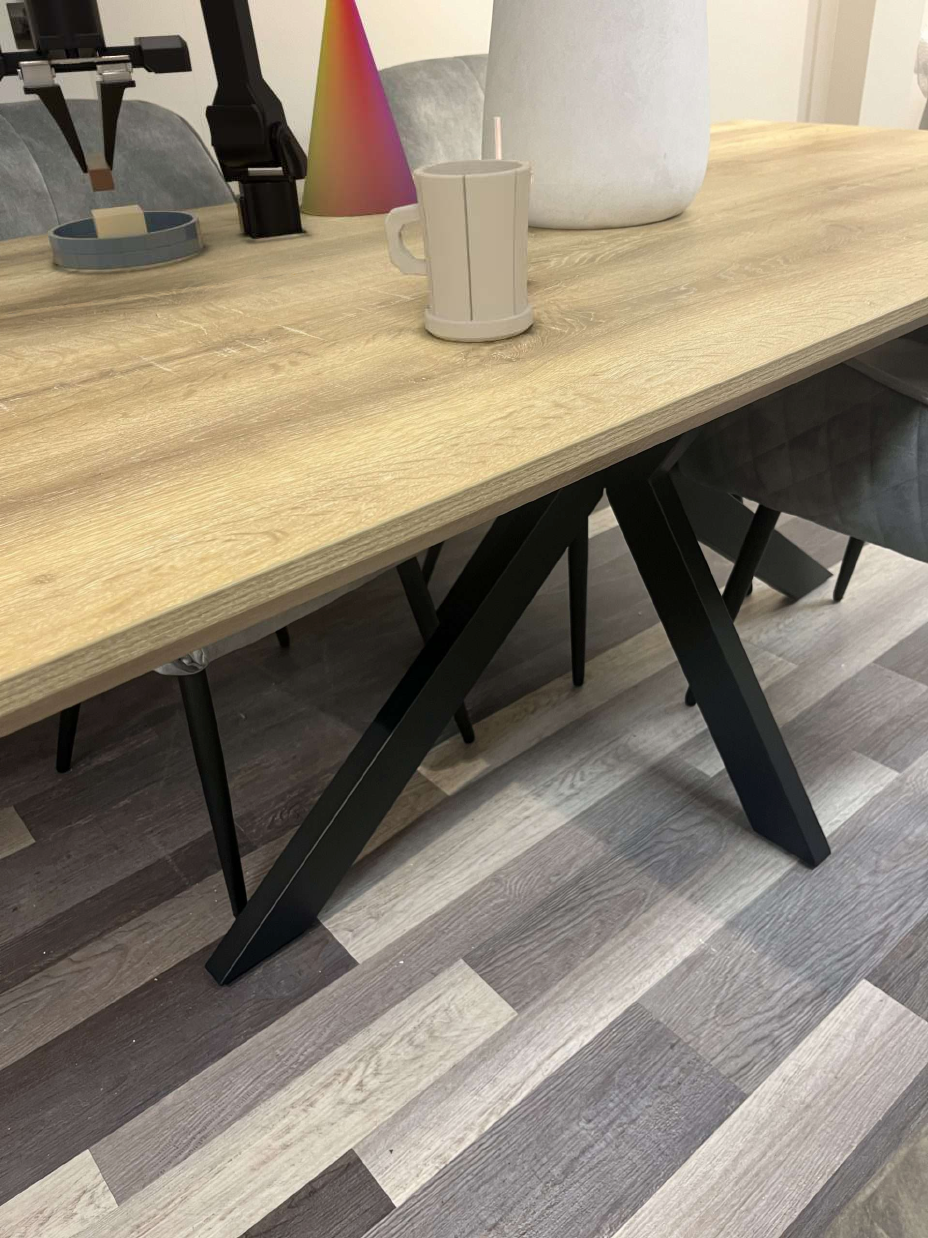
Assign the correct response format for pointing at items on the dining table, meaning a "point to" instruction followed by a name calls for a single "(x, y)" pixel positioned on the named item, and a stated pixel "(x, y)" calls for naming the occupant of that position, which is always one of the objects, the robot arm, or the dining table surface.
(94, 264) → the bowl
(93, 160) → the stick
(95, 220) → the block
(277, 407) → the dining table surface
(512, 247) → the cup
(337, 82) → the decorative cone
